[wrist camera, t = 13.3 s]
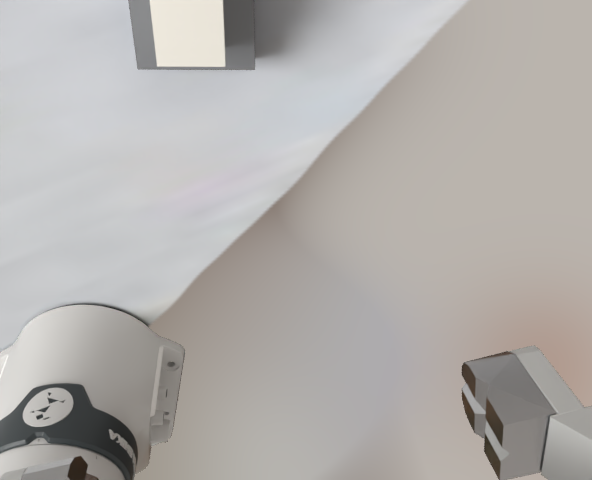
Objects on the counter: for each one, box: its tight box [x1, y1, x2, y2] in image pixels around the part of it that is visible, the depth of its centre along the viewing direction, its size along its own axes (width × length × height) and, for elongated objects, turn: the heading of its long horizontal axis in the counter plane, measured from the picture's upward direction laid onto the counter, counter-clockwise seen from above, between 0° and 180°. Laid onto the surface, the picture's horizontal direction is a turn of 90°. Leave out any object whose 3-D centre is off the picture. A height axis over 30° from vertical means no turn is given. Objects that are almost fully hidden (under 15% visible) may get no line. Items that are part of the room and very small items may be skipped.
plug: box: [150, 0, 225, 67], centre depth 31 cm, size 5×4×7 cm
